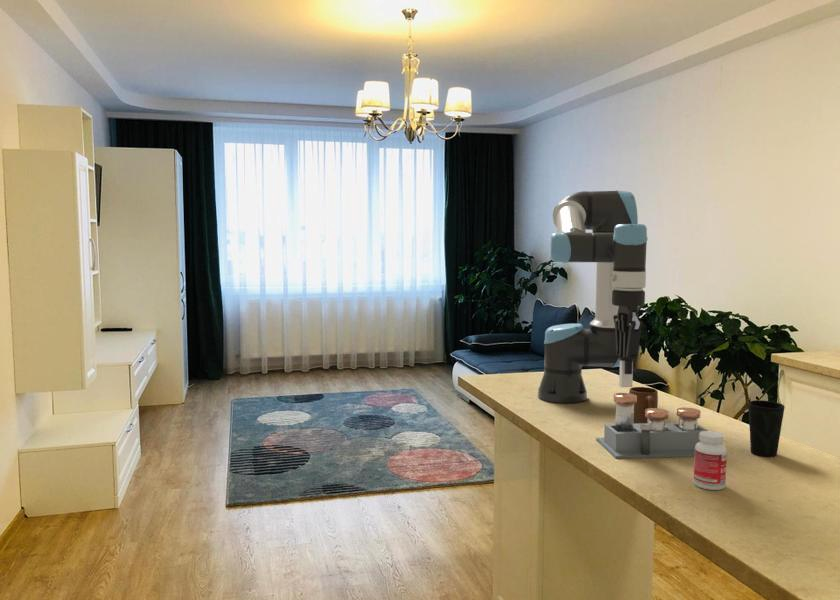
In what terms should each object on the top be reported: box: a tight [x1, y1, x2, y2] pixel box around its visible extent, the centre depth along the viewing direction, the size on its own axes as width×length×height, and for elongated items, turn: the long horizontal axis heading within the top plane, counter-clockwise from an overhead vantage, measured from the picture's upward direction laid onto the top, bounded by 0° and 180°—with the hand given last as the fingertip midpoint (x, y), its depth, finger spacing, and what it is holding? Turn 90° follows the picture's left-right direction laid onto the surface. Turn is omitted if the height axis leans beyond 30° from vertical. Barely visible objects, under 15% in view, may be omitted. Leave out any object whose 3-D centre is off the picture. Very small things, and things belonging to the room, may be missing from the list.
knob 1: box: [613, 392, 637, 432], centre depth 167 cm, size 5×5×8 cm
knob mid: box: [645, 408, 670, 431], centre depth 168 cm, size 5×5×8 cm
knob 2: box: [676, 406, 702, 430], centre depth 169 cm, size 5×5×8 cm
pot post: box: [640, 424, 652, 455], centre depth 162 cm, size 3×3×7 cm
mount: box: [595, 422, 709, 459], centre depth 168 cm, size 14×25×5 cm, turn 94°
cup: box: [747, 399, 785, 458], centre depth 164 cm, size 8×8×12 cm
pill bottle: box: [693, 430, 728, 491], centre depth 143 cm, size 6×6×11 cm
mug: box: [628, 386, 659, 424], centre depth 187 cm, size 12×8×9 cm, turn 179°
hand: (625, 386), depth 166 cm, fingers closed
